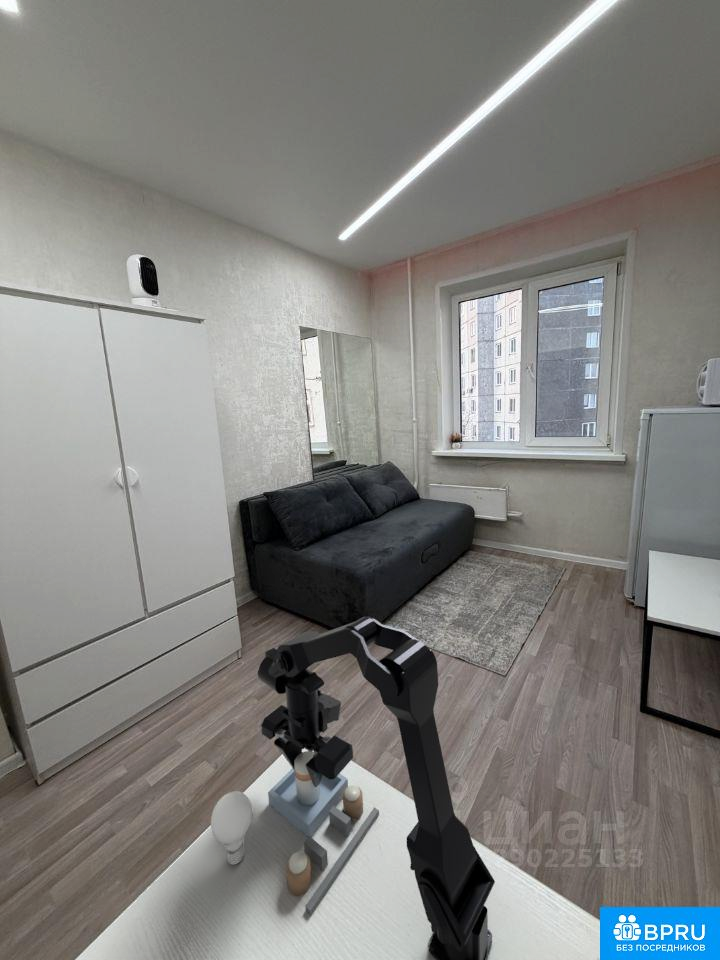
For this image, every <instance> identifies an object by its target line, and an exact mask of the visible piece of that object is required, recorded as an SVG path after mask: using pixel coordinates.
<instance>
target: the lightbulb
mask: <svg viewBox="0 0 720 960" xmlns="http://www.w3.org/2000/svg"><path fill="white" fill-rule="evenodd" d="M252 820H253V805H252V801H251V800H250V798H249V796H247V794H245V793H244V792H242V791H238V790H235V791H234V790H233V791H230V792H228V793H226V794H225V795H223V796H222V797H220V798H219V800H218V802H216V804H215V806H214V808H213V810H212V813H211V817H210V829H211V833H212V835H213V837H214V838H215V839H216V841H217V842H218V843H220V844H222V845H223V847H224V849H226V850H225V851H226V859H227V862H228V863H229V864H230V865H237V864H239V863H240V862H241V861H242V859H243V858H244V855H245V845H244V841H245V835H246V833H247V831H248V830H249V828H250V825H251V824H252Z"/></svg>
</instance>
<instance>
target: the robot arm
mask: <svg viewBox="0 0 720 960" xmlns="http://www.w3.org/2000/svg"><path fill="white" fill-rule="evenodd" d="M373 644H374V645H376V646H378V647H382V648H385V649H388V650H392V651H390V652H389V653H388V654H386V655H385V656H384V657H382V658H381V659H379V660H377V659H376V658H375V657H374V656H373V655H371V653H370V650H369V649H368V647H370V646H371V645H373ZM264 654H265V655H264V656H265V657H264V658H263V659H262V661H261V663H260V664H259V666H258V670H257V677H258V679H259V680H260V681H261V682H262V683H263V684H265V685H266V686H267V687H269V688H270V689H271V690H273V691H274V692H276V693H277V694H279V695H284V694H285V698H286V699H285V700H286V705H283V704H281V705H279V706H278V707H277V708H276V709H274V710H273V711H272V712H271V713H269V714H268V715H267V716H265V717H264V718H263V720H262V722H261V725H260V727H261V734H262V736H265V737H266V738H268V739H269V740H272V739H274V738H275V737H276V739H274V741H273V744H274V746H275V747H276V748H277V749H278V750H279V751H280V753H281V754H282V755H283V757H284V758H285V760H286V761H287V763H288V764H289V765H290V767H291V769H292V768H293V769H294V766H295V765H294V762H295V759H296V757H297V756H298V755H299V754H300V753H302V752H303V750H304V749H305V750H306V751H309V752H314V755H313V757H312V758H311V759H310V760H309V761H308V763H307V764H306V768H307V770H308V773H309V775H310V778H311V780H312V783H313V785H314V786H315V787H317V786H318V785H319V784H320V781H321V778H322V775H324V776H325V777H326V778H328V779H329V780H332V779H335V778H336V777H337V776H338V775H339V773H340V774H341V772H342V771H343V770H344V769H345V768H346V767H347V765H348V764H349V763H350V762H351V761H352V760H353V758H354V749H353V744H352V743H350V742H349V741H347V740H345V739H343V738H341V737H339V736H337V735H333V736H332V737H330V736H322V735H321V733H325V732H326V731H327V730H328V728H329V727H328V724H330V723H333V722H334V721H335V722H337V721H339V719H340V712H341V706H342V701H340V700H339V699H337V698H334V697H332V696H330V695H328V694H324V693H323V692H321V690H320V688H321V687H323V686H324V685H325V681H324V679H323V678H322V677H320V676H319V675H318V674H317V672H316V671H312V670H311V669H309V668H310V667H312V666H313V665H315V664H316V663H318V662H323V661H325V660H330V659H333V658H337V657H341V656H344V655H349V654H351V655H352V656H353V657H355V659H356V661H357V664H358V666H359V669H360V672H361V674H362V677H363V678H364V679H365V680H366V681H367V682H368V683H370V684H371V686H373V687H374V688H375V689H376V690H377V691H379V695H380V697H381V700H382V704H384V706H385V707H386V708H387V709H388V711H389V712H391V714H393V715H394V716H395V717H396V719H397V723H398V728H399V732H400V737H401V741H402V748H403V752H404V757H405V761H406V767H407V771H408V777H409V781H410V785H411V786H410V788H411V793H412V796H413V801H414V807H415V811H416V817H417V823H416V824H415V826H414V827H413V828H412V830H411V831H410V832H409V834H408V835H407V836H406V849H407V851H408V852H407V853H408V854H409V858H410V871H414V877H415V881H416V883H417V888H418V891H419V893H420V897H421V898H420V899H421V902H422V905H423V907H424V911H425V915H426V919H427V921H428V922H429V923H430V928H431V933H432V932H433V935H432V937H431V940H430V943H429V944H428V952H429V955H430V956H432V957H433V958H434V959H435V960H487V957H488V955H489V952H490V948H491V945H492V941H493V933H492V932H491V931H490V929H488V927H489V926H488V921H489V919H488V915H489V914H488V908H487V906H485V904H486V902H487V900H488V897H489V895H490V894H491V892H492V890H493V887H494V885H495V883H496V881H495V879H494V877H493V875H492V874H491V873H490V870H489V869H488V867H487V865H486V864H485V862H484V861H483V859H482V857H481V856H480V854H479V853H478V851H477V849H476V847H475V846H474V843H473V840H472V837H471V834H470V832H469V829H468V827H467V826H466V825H465V824H464V823H463V822H462V821H461V819H460V818H458V816H456V814H455V811H454V807H453V801H452V795H451V791H450V786H449V781H448V776H447V771H446V766H445V762H444V757H443V751H442V748H441V747H442V746H441V743H440V742H441V741H440V737H439V731H438V727H437V723H436V717H435V713H434V711H435V710H434V708H435V704H436V699H437V693H438V690H439V689H438V688H439V675H438V674H439V671H438V662H437V658H436V655H435V653H434V651H433V650H432V649H431V648H429V647H428V646H427V645H426V644H425V643H424V642H422V641H421V640H419V639H417V638H416V637H414V636H413V635H412V634H410V633H409V632H407V631H406V630H404V629H400V628H397V627H393V626H389V625H386V624H383V623H381V622H380V621H378V620H377V619H375V618H374V617H372V616H363V617H360V618H359V619H358V620H355V621H353V622H351V623H348V624H345V625H342V626H339V627H336V628H334V629H331V630H327V631H325V632H322V633H319V632H318V631H316V630H315V631H314V630H312V631H305V632H303V633H301V634H299V635H297V636H295V637H293V638H291V639H289V640H288V641H286V642H283V643H281V644H279V646H277V648H275V647H273V648H270V649H269V650H266V651H265V653H264ZM294 771H295V769H294Z"/></svg>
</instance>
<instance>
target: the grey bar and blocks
mask: <svg viewBox="0 0 720 960" xmlns="http://www.w3.org/2000/svg"><path fill="white" fill-rule="evenodd" d="M379 815H380V810H379V809H377V808H376V807H375V806H373V808H372V810H371V811H370V813H369V814H368V816H367V817H366V819H365V820H364V821H363V823H362V824H361V826H360V827H358V829H357V831H356V833H355V834H354V836H353V837H352V838H351V840H350V841H349V843H348V844H347V845H346V847H345V849H344V850H343V851H342V853H341V854H340V856H339V857H338V859H337V860H336V861H335V863H333V866H332V867H331V868H330V870H329V872H328V873H327V874H326V876H325V877H324V879H323V880H322V881H321V883H320V885H318V887H317V888H316V890H315V891H314V893H313V894H312V896H311V897H310V898H309V900H308V901H307V903H306V905H305V907H304V908H305V911H306V913H307V914H309V916H312V914H313V913H314V911H315V910H316V908H317V907H318V906H319V904H320V903H321V901H322V900H323V898H324V897H325V895H326V894H327V892H328V891H329V889H330V888H331V886H332V885H333V883H334V882H335V881H336V879H337V878H338V876H339V874H340V873H341V872H342V870H343V868H344V867H345V865H346V864H347V863H348V861H349V860H350V858H351V856H352V855H353V854H354V852H355V850H357V847H358V846H359V844H360V843H361V842H362V841H363V839H364V837H365V836H366V834H367V833H368V831H369V830H370V828H371V827H372V825H373V824H374V822H375V821H376V819H377V818H378V816H379ZM328 819H329V824H330V825H331V826H332V827H333V828H335V830H337V831H338V832H339V833H341V834H343V836H345V837H349V836H350V834H351V833H352V831H353V830H352V820H351V818H350V817H348V816H347V815H346V814H344V811H343V810H342V811H341V810H340V809H339V808H338V807H336V806H333V807H332V808H331V809H330V810H329V815H328ZM303 849H304V851H303V852H305V853H306V854H307V855H308V856H309V858H310V862H311V863H312V864H314V865H315V866H316V867H317V868H318V869H320V870H321V871H322V872H323V871H325V869H326V868H327V866H328V865H329V861H328V860H329V859H328V850H327V849H326V848H324V847H323V846H322V845H321V844H320V843H318V842H317V841H316V840H315V839H314V838H312V836H311V837H310V836H306V839H305V840H304V841H303Z"/></svg>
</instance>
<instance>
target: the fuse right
mask: <svg viewBox="0 0 720 960" xmlns="http://www.w3.org/2000/svg"><path fill="white" fill-rule="evenodd" d="M363 798H364V797H363V790H362V789H361V788H360V787H359V786H357V785H354V784H352V785H351V784H350V785H348V787H347V788H346V789H345V790H344V792H343V797H342V808H343V813H344V814H346V815H347V816H348V817H350V818H351V821H356V820H359V819H360V818H362V815H363V814H364V799H363Z"/></svg>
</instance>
